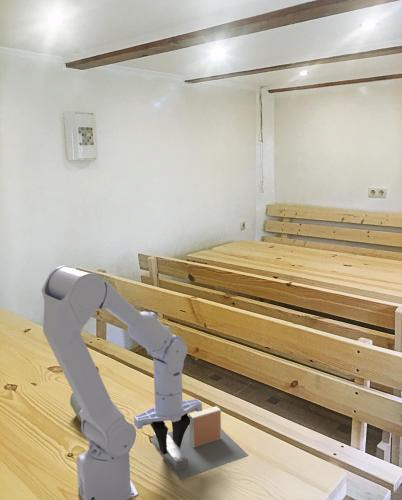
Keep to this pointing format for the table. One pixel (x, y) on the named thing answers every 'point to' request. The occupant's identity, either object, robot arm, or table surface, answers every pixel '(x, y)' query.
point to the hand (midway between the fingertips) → (170, 449)
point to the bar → (174, 455)
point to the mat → (207, 454)
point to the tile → (205, 426)
